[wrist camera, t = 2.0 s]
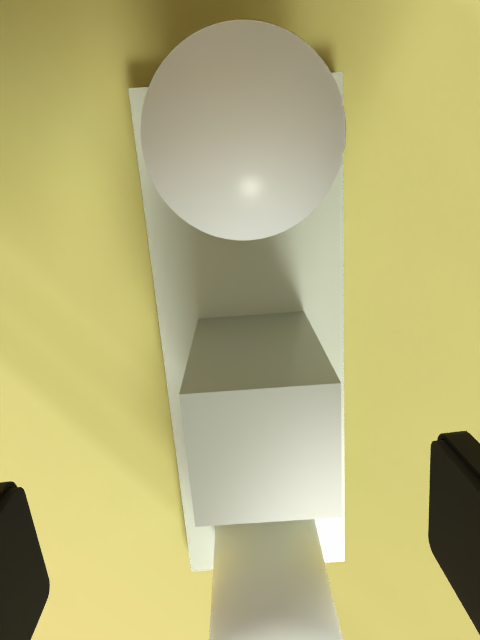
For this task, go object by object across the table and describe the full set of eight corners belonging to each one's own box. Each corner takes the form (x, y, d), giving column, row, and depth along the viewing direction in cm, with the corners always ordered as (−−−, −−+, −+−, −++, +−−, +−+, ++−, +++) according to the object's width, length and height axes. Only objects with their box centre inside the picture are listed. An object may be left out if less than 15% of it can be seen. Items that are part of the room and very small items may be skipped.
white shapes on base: (334, 79, 16) (416, -1, 9) (338, 541, 22) (389, 717, 15) (135, 94, 16) (56, 28, 9) (193, 550, 22) (174, 730, 15)
